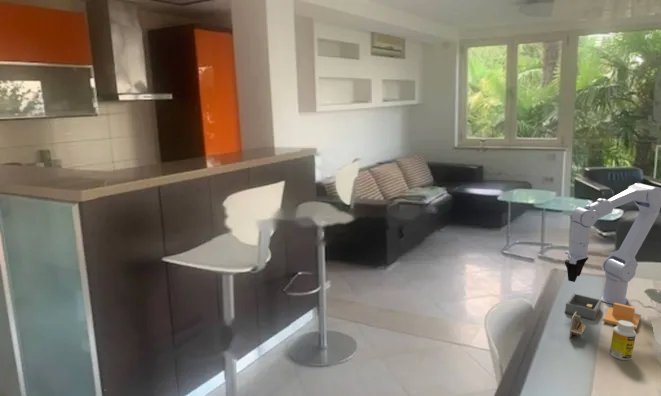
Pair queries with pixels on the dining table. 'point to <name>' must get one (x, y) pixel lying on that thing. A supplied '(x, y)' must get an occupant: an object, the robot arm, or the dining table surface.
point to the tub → (583, 306)
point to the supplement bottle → (623, 340)
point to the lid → (622, 315)
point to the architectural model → (576, 325)
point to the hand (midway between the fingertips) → (574, 278)
